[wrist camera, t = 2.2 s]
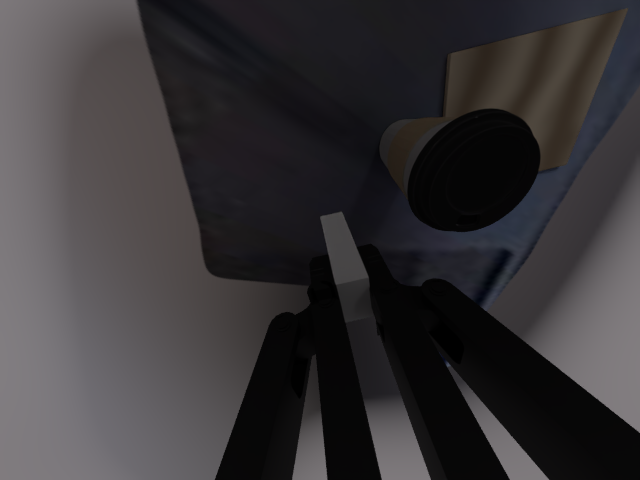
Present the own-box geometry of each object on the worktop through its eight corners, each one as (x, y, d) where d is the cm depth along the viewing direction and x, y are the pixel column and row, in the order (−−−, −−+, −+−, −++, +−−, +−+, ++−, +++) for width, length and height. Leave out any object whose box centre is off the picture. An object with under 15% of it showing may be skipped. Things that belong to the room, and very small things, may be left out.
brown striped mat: (621, 9, 24) (628, 8, 23) (562, 163, 33) (566, 164, 32) (447, 54, 24) (451, 53, 24) (436, 192, 33) (438, 194, 33)
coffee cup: (378, 192, 32) (432, 257, 20) (353, 126, 27) (404, 158, 15) (444, 159, 31) (548, 208, 18) (431, 82, 26) (560, 78, 13)
